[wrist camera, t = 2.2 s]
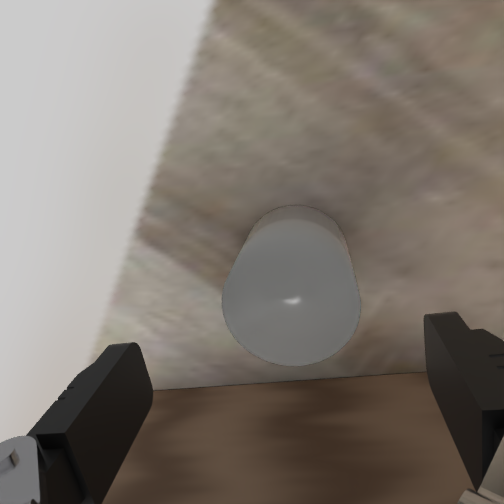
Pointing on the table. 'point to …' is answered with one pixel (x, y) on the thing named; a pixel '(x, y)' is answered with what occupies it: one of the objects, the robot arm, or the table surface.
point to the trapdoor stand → (295, 445)
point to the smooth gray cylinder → (292, 288)
